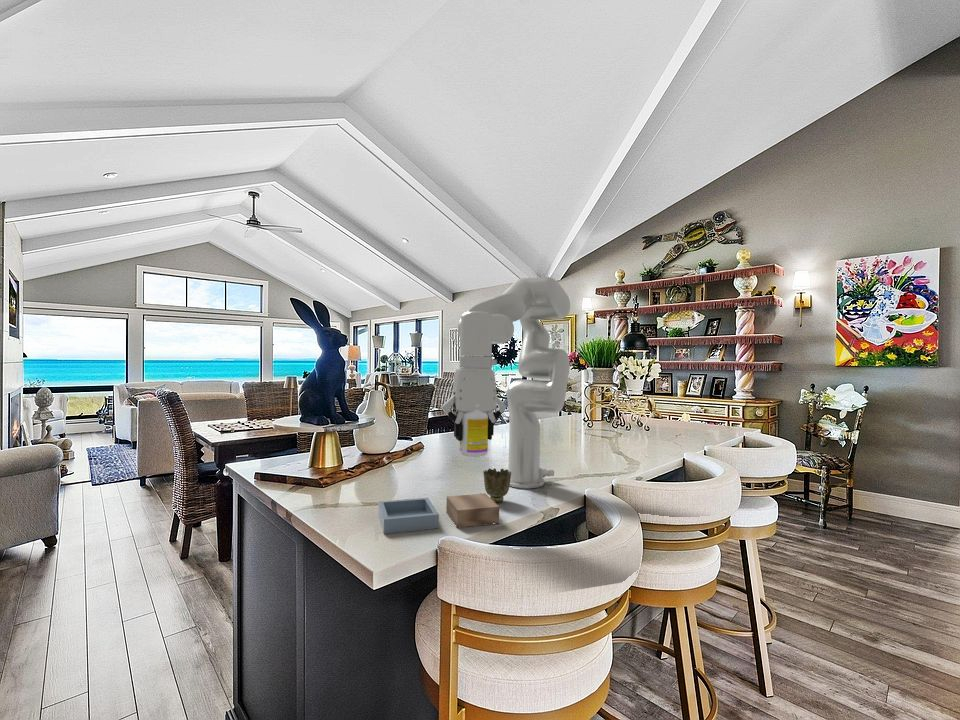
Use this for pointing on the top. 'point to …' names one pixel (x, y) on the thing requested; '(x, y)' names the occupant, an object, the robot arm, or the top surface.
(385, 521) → the slate ceramic holder
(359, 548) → the top surface
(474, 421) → the supplement bottle
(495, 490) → the cup
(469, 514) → the walnut riser block
